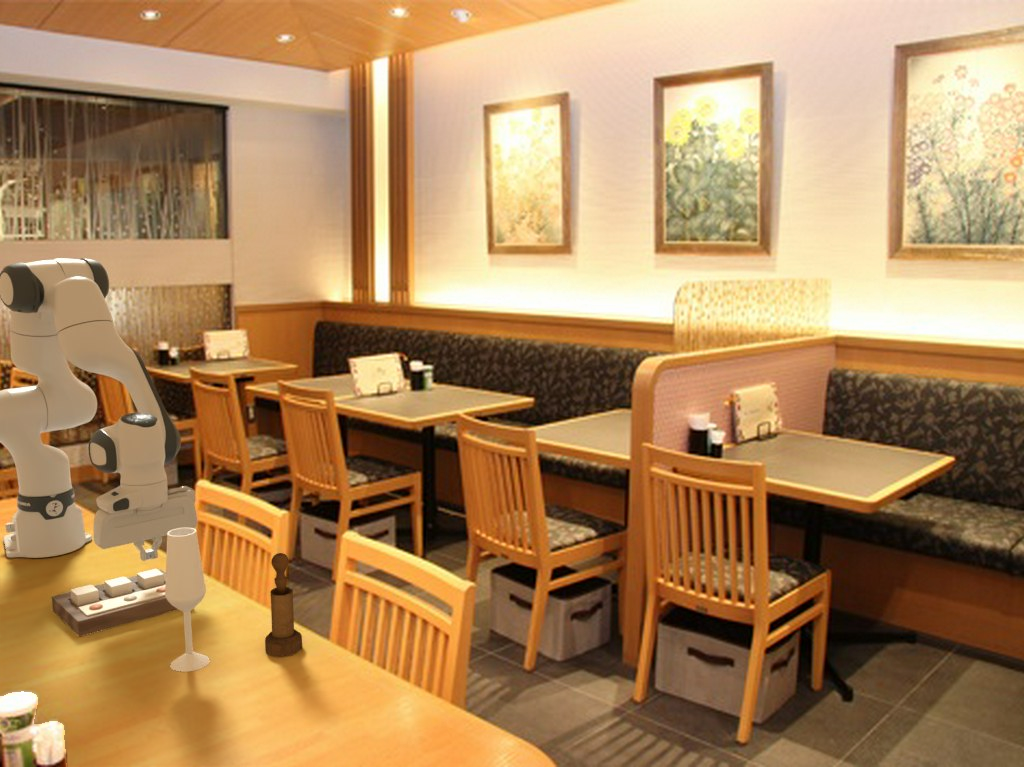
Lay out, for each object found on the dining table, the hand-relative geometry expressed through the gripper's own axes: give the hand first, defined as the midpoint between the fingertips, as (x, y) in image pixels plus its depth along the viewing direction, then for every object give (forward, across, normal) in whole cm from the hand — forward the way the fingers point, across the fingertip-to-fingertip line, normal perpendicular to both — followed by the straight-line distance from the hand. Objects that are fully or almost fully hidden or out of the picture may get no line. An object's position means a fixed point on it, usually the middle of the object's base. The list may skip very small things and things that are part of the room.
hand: (149, 558), depth 196 cm
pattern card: (+5, +6, +6) cm, 10 cm away
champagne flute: (+8, +6, +34) cm, 36 cm away
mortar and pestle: (+8, -8, +40) cm, 42 cm away
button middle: (+6, +6, 0) cm, 9 cm away
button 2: (+6, 0, 0) cm, 6 cm away
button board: (+8, +6, +2) cm, 11 cm away
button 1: (+6, +13, 0) cm, 14 cm away
